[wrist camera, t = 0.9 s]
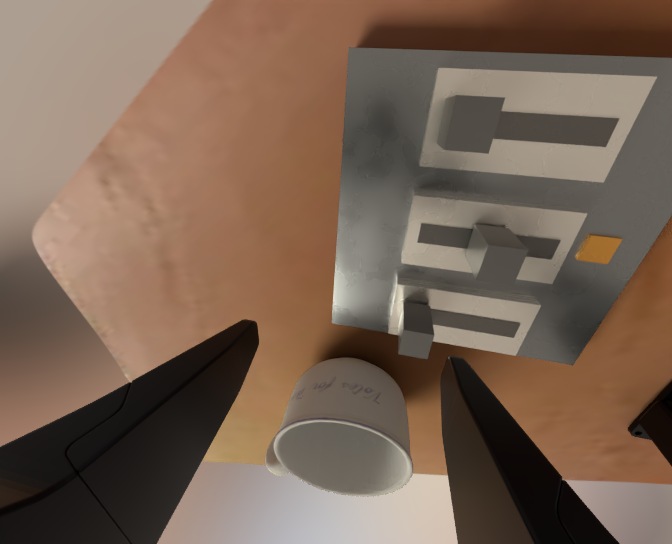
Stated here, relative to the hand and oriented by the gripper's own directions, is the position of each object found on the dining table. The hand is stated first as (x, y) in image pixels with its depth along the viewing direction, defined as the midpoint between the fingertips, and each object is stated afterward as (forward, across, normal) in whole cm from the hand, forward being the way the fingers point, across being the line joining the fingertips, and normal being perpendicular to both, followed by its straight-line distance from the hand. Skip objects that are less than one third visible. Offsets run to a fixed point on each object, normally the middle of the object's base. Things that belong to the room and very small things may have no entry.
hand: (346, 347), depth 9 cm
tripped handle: (+10, -6, 0) cm, 12 cm away
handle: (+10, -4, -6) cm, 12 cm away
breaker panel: (+13, -6, 0) cm, 15 cm away
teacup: (+13, +2, +18) cm, 22 cm away
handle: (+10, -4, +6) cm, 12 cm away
